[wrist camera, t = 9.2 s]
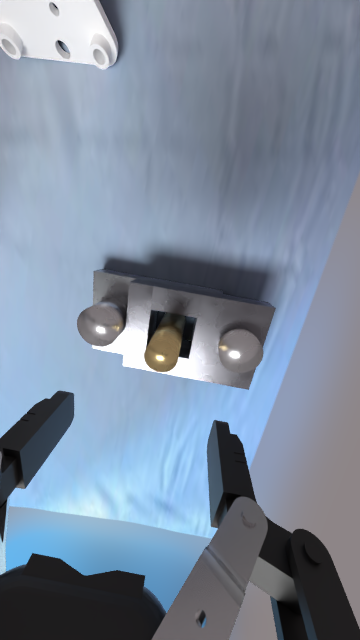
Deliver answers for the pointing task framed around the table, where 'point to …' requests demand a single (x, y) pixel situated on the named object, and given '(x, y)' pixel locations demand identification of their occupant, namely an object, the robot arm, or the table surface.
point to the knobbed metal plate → (183, 299)
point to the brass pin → (165, 343)
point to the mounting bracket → (58, 31)
